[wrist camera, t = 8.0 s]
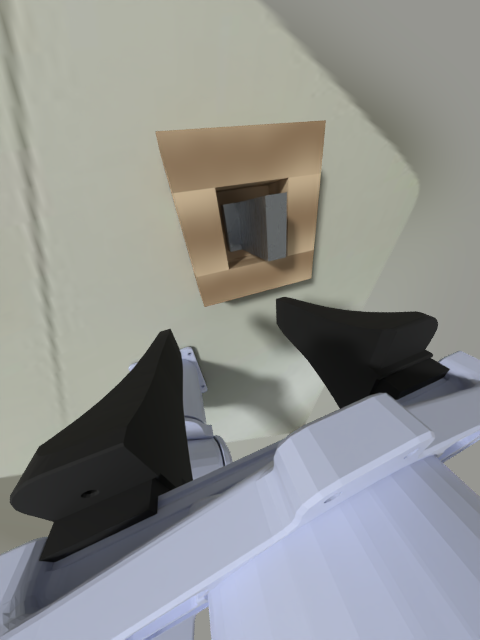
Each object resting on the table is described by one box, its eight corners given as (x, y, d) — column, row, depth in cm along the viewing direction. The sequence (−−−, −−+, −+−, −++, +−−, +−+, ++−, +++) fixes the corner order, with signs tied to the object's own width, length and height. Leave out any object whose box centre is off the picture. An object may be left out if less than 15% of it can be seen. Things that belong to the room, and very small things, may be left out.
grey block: (262, 243, 19) (300, 253, 13) (227, 250, 18) (252, 265, 13) (260, 199, 17) (304, 189, 11) (220, 205, 16) (246, 198, 10)
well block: (291, 269, 22) (311, 278, 19) (199, 292, 20) (204, 307, 17) (294, 140, 16) (325, 120, 13) (159, 152, 14) (155, 131, 10)
